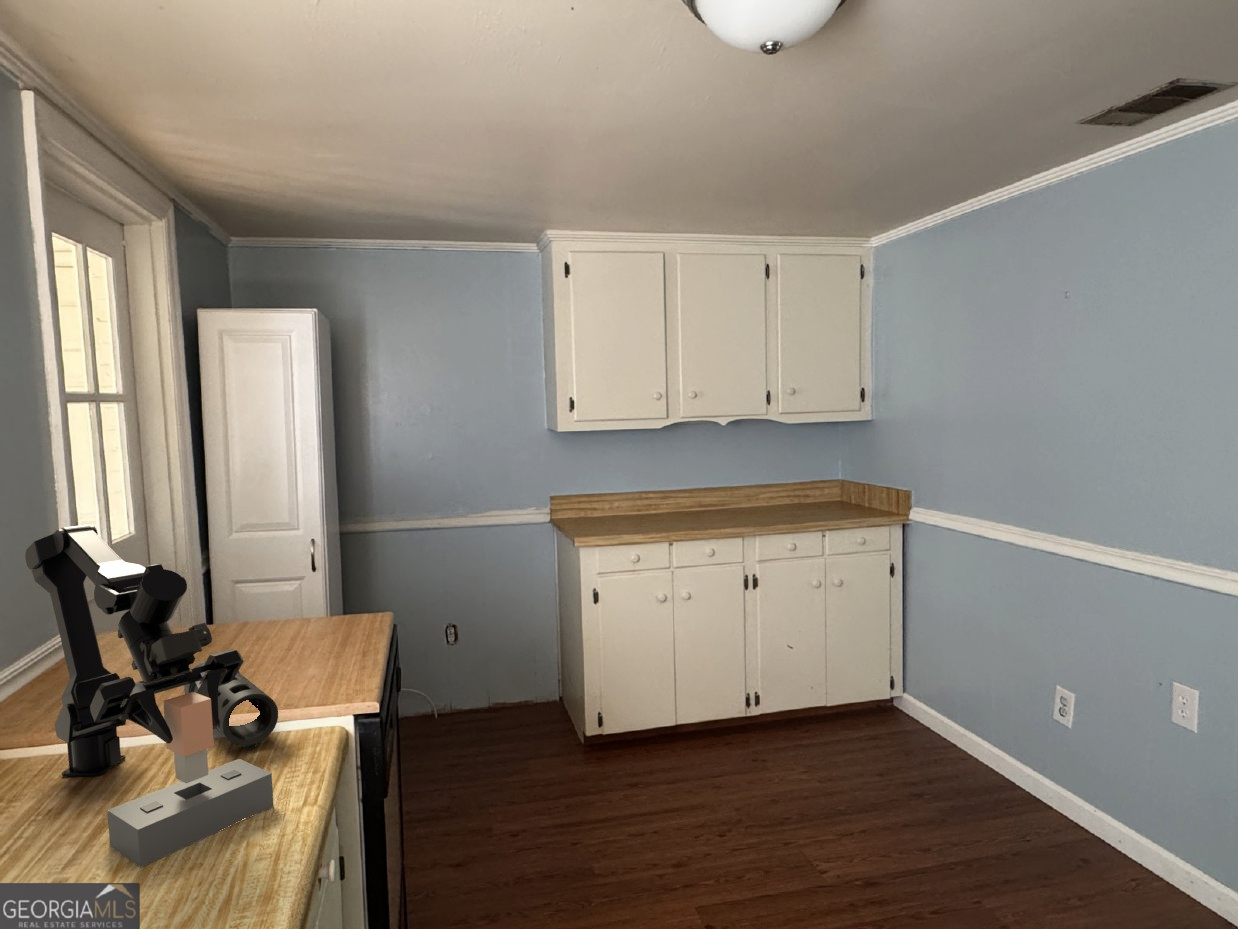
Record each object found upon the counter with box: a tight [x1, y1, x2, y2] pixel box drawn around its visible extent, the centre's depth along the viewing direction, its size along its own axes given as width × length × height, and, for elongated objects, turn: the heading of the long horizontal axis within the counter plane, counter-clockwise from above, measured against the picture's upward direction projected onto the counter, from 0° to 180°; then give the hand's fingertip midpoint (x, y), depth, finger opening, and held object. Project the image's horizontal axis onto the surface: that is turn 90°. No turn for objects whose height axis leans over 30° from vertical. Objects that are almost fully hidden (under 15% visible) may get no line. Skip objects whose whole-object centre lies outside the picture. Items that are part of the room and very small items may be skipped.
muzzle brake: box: [183, 660, 279, 751], centre depth 142 cm, size 10×28×10 cm, turn 42°
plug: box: [162, 692, 215, 784], centre depth 107 cm, size 5×4×11 cm
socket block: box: [107, 758, 274, 869], centre depth 107 cm, size 9×18×5 cm, turn 145°
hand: (194, 733), depth 106 cm, fingers open, 6 cm apart
